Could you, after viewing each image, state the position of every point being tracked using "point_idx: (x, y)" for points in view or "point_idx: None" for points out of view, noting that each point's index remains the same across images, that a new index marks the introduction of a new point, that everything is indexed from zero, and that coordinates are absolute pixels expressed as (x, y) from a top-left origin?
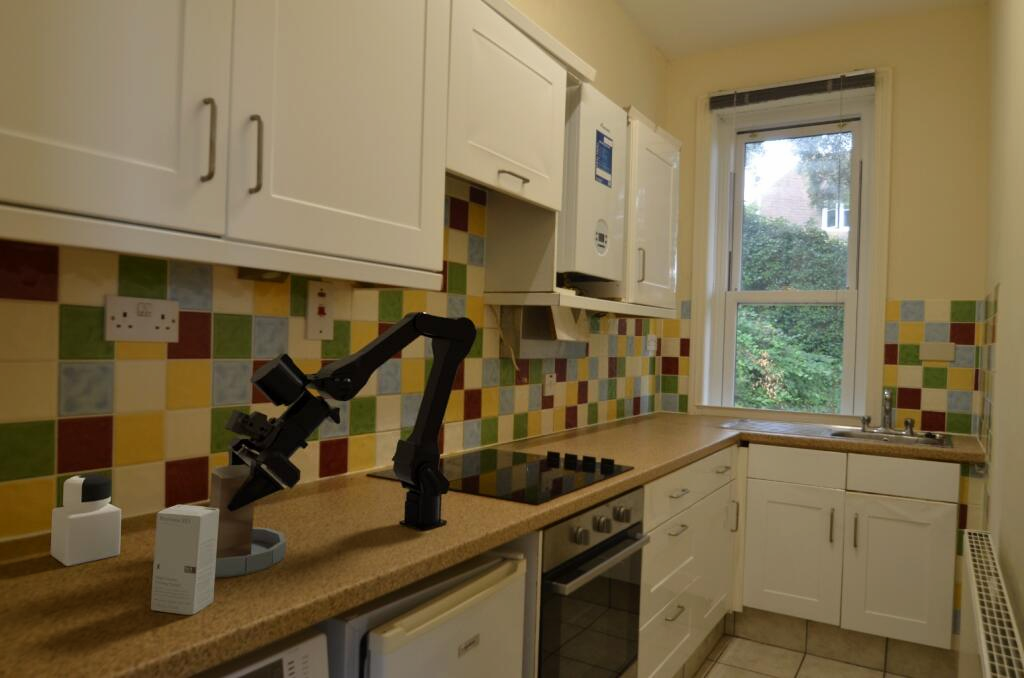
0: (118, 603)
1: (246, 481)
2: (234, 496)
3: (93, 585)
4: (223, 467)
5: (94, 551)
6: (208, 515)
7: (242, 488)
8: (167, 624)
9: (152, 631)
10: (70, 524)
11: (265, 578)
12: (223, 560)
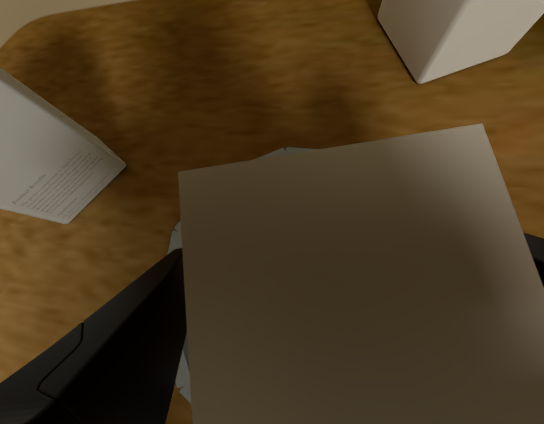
0: (155, 97)
1: (58, 362)
2: (151, 277)
3: (257, 62)
4: (422, 205)
5: (402, 34)
6: None
7: (84, 320)
8: None
9: None
10: None
11: None
12: (169, 252)
